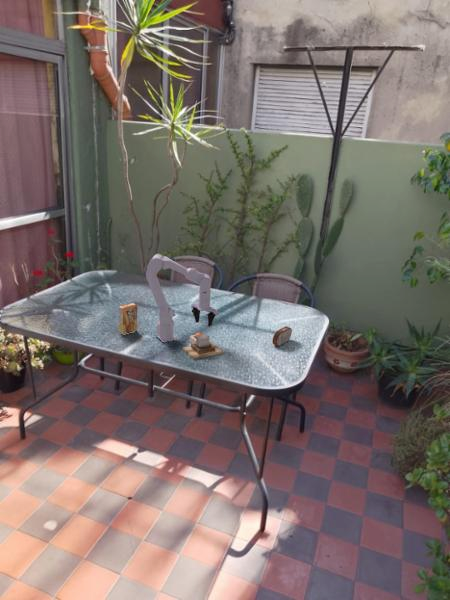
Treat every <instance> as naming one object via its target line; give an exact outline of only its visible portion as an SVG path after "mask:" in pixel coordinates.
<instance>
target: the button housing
mask: <svg viewBox="0 0 450 600" xmlns="http://www.w3.org/2000/svg"><path fill="white" fill-rule="evenodd" d="M189 342H190V343H191V342H192V343H193V344H194V343H196V339H195V334H192V335H189ZM192 343H191V344H192Z"/></svg>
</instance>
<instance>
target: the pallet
mask: <svg viewBox="0 0 450 600" xmlns="http://www.w3.org/2000/svg"><path fill="white" fill-rule="evenodd" d="M182 351H183V352H185V353H186V354H187V355H188V356H189V355H190V356H191V357H192V358H193V359H192V358H191V357H190V356H189V357H190V358H191V359H192V360H194V361H195V359H196V360H201V359H204V358H209V357H213V356H218V355H222V354H224V350H223V349H221V348H219V347H218V346H217V345H216V344H215V343H213V341H209V348H204V349H199V348H197V347H196V343H194V344H192V343H191V344H190V346H189V345H188V346H185V347H182ZM200 358H201V359H200Z"/></svg>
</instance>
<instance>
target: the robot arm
mask: <svg viewBox="0 0 450 600" xmlns="http://www.w3.org/2000/svg"><path fill="white" fill-rule="evenodd" d="M167 269H171V270H172V271H175V272H178V273H180V274H181V275H183V276H184V278H185V279H187V280H189V281H190V282H193V283H195V284H197V285H198V286H199V290H198V303H192V304H191V307H190V308H191V312H192V315H193V317H194V321H195V323H196V324H198V323H199V322H200V316H201V315H200V314H201V312H206V313H207V314H206V316H207V320H208V321H207V325H208V326H207V327H209V328H210V327H212V325H213V322H214V318H215V317H216V316H217V314H218V309H216V308H214V307H212V306H211V295H212V294H211V291H212V290H211V288H212V277H211V276H210V274H208V273H204V272H200V271H199V270H196V268H195V267H189V268H187V267H186V266H184V265H181V264H180V263H178V262H176V261H174V260H173V259H171V258H169V257H168V256H165V255H163V254H161V253H156V254H154V255H153V257H152V258H151V259H150V260H149V262H148V264H147V268H146V271H145V278H146V281H147V283H148V286H149V287H150V290H151V291H150V292H151V293H152V296H153V297H154V300H155V303H156V307H157V309H158V317H159V319H158V322H157V323H156V335H158V336H159V338H160V339H161V340H162V342H164V343H167V342H166V341H169V342H173V340H174V341H177V340H178V339H177V338H176V337H175V336H174V333H175V332H174V327H175V326H174V325H175V323H174V322H175V321H174V320H173V318H174V316H175V312H174V310H173V309H172V308H171V305H170V304H169V303H168V301H167V299H166V297H165V293H164V291H163V288H162V286H161V284H160V281H159V278H158V276H157V275H158V272H159V271H161V270H167ZM162 342H161V343H162Z"/></svg>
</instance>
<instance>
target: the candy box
mask: <svg viewBox="0 0 450 600" xmlns="http://www.w3.org/2000/svg"><path fill="white" fill-rule="evenodd" d="M118 330H119V332H121V333H122V334H126V333H130V332H133V331H136V330H137V331H138V305H137V304H135V303H134V302H132V303H128V304H124V305H120V306H118Z"/></svg>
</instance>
